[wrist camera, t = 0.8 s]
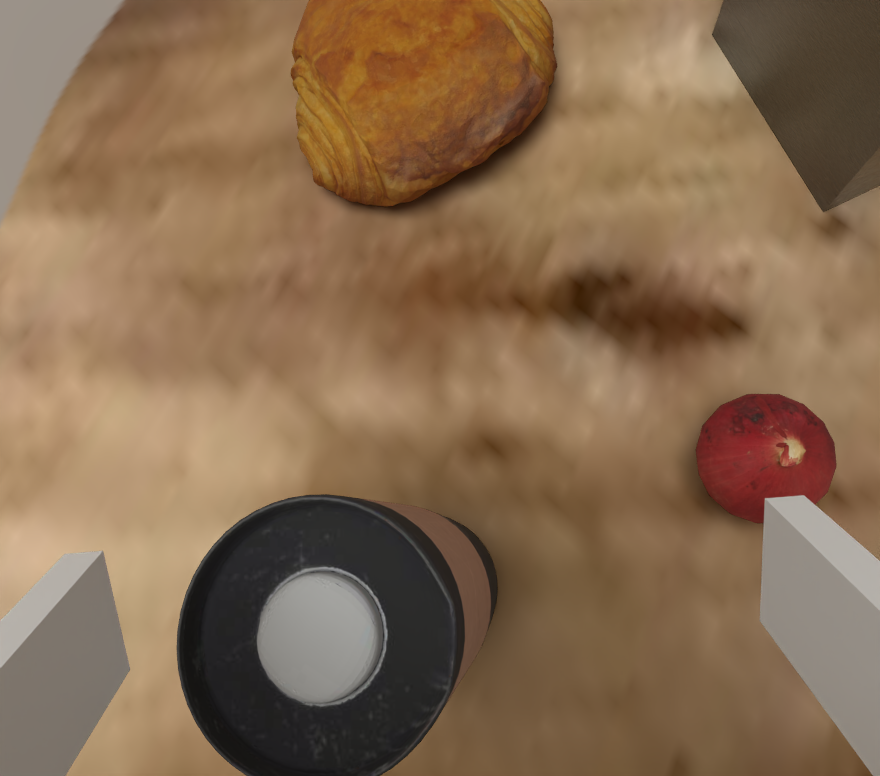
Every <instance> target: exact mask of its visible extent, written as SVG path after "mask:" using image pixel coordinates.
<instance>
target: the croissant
mask: <svg viewBox="0 0 880 776" xmlns="http://www.w3.org/2000/svg"><path fill="white" fill-rule="evenodd" d="M553 33H554V32H553V25H552V19H551V17H550V15H549V13H548V11H547V9H546V7H545V6H544V5H543V3H542V2H541V1H540V0H309V2H308V4H307V7H306V9H305V12H304V15H303V17H302V20H301V23H300V26H299V29H298V31H297V34H296V36H295V39H294V44H293V49H292V54H293V57H294V60H295V64H294V65H293V67H292V69H291V77H292V79H293V86H294V88H295V89H296V91H297V92H298V94H299V98H298V101H297V105H296V119H297V125H298V129H299V131H298V135H297V139H298V141H299V144H300V149H301V151H302V152H303V153H304V155H305V156H306V157H307V159H308V162H309V164H310V166H311V168H312V170H313V179H314V182H315V183H316V184H317V185H319V186H322V187H324V188H326V189H328V190H330V191H333V192H335V193H336V195H338V196H340V197H342V198H344V199H346V200H348V201H351V202H356V201H357V202H359V203H362V204H365V205H370V204H373V205H377V206H385V207H387V206H394V205H396V204H398V203H403V202H411V201H413V200H415V199H416V198H418V197H420V196H421V195H423V194H425V193H426V192H427V191H429V190H430V189H432V188H435V187H438V186H440V185H442V184H444V183H446V182H448V181H449V180H450V179H452V178H453V177H455V176H456V175H457V174H459V173H460V172H463V171H465V170H467V169H469V168H471V167H473V166H477V165H480V164H481V163H483V162H484V161H485V160H487V159H488V158H489V156H490V155H491V154H492V153H494V152H495V151H496V150H497V149H498V148H500V147H502V146H504V145H505V144H507V143H510V141H511V140H512V139H513V138H515V137H516V136H519V135H520V134H521V133H522V132H523V131H524V130H525V129H526V128H527V127H528V125H529V124H530V123H531V122H532V121H533V120H534V119H535V117H536V116H537V115H538V114H539V113H540V112H541V111H542V109H543V107H544V106H545V104H546V103H547V96H548V93H549V86H550V85H551V84H552V82H553V79H554V72H555V70H556V68H557V63H556V59H555V56H554V51H553V46H554V44H553V38H554V37H553Z"/></svg>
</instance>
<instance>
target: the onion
mask: <svg viewBox="0 0 880 776" xmlns="http://www.w3.org/2000/svg"><path fill="white" fill-rule="evenodd" d="M696 456H697V464H698V472H699V476H700V478H701V480H702V482H703V484H704V486H705V488H706V490H707V492H708V493H709V495H710V496H711V497H712V498H713V499H714V500H715V501H716V502H717V503H718V504H720V505H721V506H722V507H723V508H724V509H725V510H726V511H727V512H729V513H730V514H732V515H735V516H738V517H741V518H744V519H746V520H749V521H752V522H755V523H764V505H765V498H776V497H789V496H801V495H804V496H805V497H806V498H808V499H809V500H810V501H811V502H812V503H813V504H816V503H817V502H818V501H819V500H820V499H821V498H822V497H823V496H824V495H825V494H826V493H827V492H828V489H829V487H830V484H831V481H832V478H833V475H834V472H835V469H836V456H835V446H834V441H833V439H832V438H831V436H830V434H829V432H828V430H827V428H826V426H825V424H824V422H823V421H822V420H821V419H819V418H818V417H817V416H816V415H815V414H814V413H813V412H812V411H810V410H809V409H808V408H807V407H806V406H805V405H804V404H802V403H799V402H797V401H794V400H792V399H789V398H787V397H785V396H782V395H780V394H747V395H744V396H742V397H740V398H737V399H735V400H732V401H730V402H728V403H725V404H723V405H721V406H720V407H719V408H718V409H717V410H716V411H715V412H714V413H713V415H712V416H711V417H710V418H709V419H708V420H707V421H706V422H705V423H704V425H703V426H702V429H701V433H700V437H699V440H698V444H697V447H696Z"/></svg>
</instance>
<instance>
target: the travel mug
mask: <svg viewBox="0 0 880 776" xmlns="http://www.w3.org/2000/svg"><path fill="white" fill-rule="evenodd" d="M496 600H497V577H496V571H495V568H494V564H493V561H492V559H491V557H490V554H489V553H488V551H487V549H486V548H485V546H484V545H483V543H482V542H481V541H480V539H479V538H478V537H477V536H476V535H475V534H474V533H473V532H471V531H470V530H469V529H467V528H466V527H465V526H463V525H461V524H460V523H458V522H456V521H454V520H452V519H449V518H447V517H444V516H442V515H439V514H437V513H434V512H432V511H429V510H427V509H423V508H419V507H415V506H410V505H402V504H395V503H388V502H380V501H373V500H366V499H359V498H352V497H344V496H335V495H305V496H299V497H292V498H288V499H284V500H281V501H278V502H275V503H272V504H269V505H267V506H265V507H263V508H261V509H258V510H256V511H254V512H253V513H251V514H250V515H248V516H246V517H245V518H243V519H241V520H240V521H239V522H237V523H236V524H235V525H234V526H233V527H231V528H230V529H229V530H228V531H226V532H225V533H224V534H223V536H222V537H221V538H220V539H219V540H218V541H217V542H216V543H215V544H214V545H213V546H212V548H211V549H210V550H209V552H208V553H207V554H206V556H205V557H204V558H203V560H202V562H201V563H200V565H199V567H198V569H197V570H196V572H195V574H194V576H193V578H192V580H191V583H190V585H189V587H188V590H187V592H186V595H185V598H184V602H183V605H182V609H181V613H180V619H179V625H178V632H177V661H178V670H179V676H180V681H181V686H182V689H183V692H184V696H185V699H186V702H187V705H188V707H189V709H190V711H191V713H192V716H193V718H194V720H195V722H196V724H197V725H198V727H199V728H200V730H201V731H202V733H203V735H204V736H205V738H206V739H207V740H208V741H209V743H210V744H211V745H212V746H213V747H214V749H215V750H216V751H217V752H218V753H219V754H220V755H221V756H222V757H223V758H224V759H225V760H226V761H228V762H229V763H230V764H231V765H232V766H234V767H235V768H236V769H238V770H239V771H241V772H242V773H244V774H245V775H247V776H380V775H382V774H383V773H385V772H387V771H388V770H390V769H392V768H393V767H394V766H395V765H396V764H398V763H399V762H400V761H401V760H403V759H404V758H405V757H406V756H407V755H408V754H409V753H410V752H411V751H412V750H413V749H414V748H415V747H416V746H417V745H418V744H419V743H420V742H421V740H422V739H423V738H424V736H425V735H426V734H427V732H428V731H429V730H430V729H431V727H432V726H433V725H434V723H435V721H436V720H437V718H438V716H439V715H440V713H441V711H442V710H443V708H444V706H445V705H446V703H447V702H448V700H449V698H450V697H451V695H452V694H453V692H454V690H455V689H456V687H457V686H458V684H459V683H460V681H461V679H462V678H463V676H464V675H465V673H466V672H467V670H468V668H469V667H470V665H471V664H472V662H473V661H474V659H475V657H476V656H477V654H478V652H479V650H480V648H481V646H482V644H483V642H484V639H485V636H486V634H487V631H488V628H489V625H490V622H491V619H492V616H493V613H494V609H495V605H496Z"/></svg>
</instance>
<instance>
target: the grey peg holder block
mask: <svg viewBox="0 0 880 776" xmlns="http://www.w3.org/2000/svg"><path fill="white" fill-rule="evenodd" d="M712 35H713V37H714V38H715V40H716V41H717V43H718V45H719V46H720V48H721V49H722V51H723V53H724V54H725V56H726V57H727V59H728V61H729V62H730V64H731V65H732V67H733V69H734V70H735V72H736V73H737V75H738V77H739V78H740V80H741V81H742V83H743V85H744V86H745V88H746V89H747V91H748V93H749V94H750V96H751V97H752V99H753V100H754V102H755V104H756V105H757V107H758V108H759V110H760V112H761V113H762V115H763V116H764V118H765V120H766V121H767V123H768V124H769V126H770V128H771V129H772V131H773V132H774V134H775V136H776V137H777V139H778V140H779V142H780V144H781V145H782V147H783V148H784V150H785V152H786V153H787V155H788V156H789V158H790V159H791V161H792V163H793V164H794V166H795V167H796V169H797V171H798V172H799V174H800V175H801V177H802V179H803V180H804V182H805V183H806V185H807V187H808V188H809V190H810V191H811V193H812V195H813V196H814V198H815V199H816V201H817V203H818V204H819V206H820V207H821V209H822V211H823V212H824V211H827V210H829V209H831V208H833V207H835V206H837V205H839V204H841V203H844V202H846V201H848V200H850V199H852V198H854V197H856V196H858V195H861V194H863V193H865V192H867V191H869V190H871V189H873V188H875V187H878V186H880V0H724V1H723V4H722V7H721V10H720V13H719V16H718V19H717V22H716V25H715V28H714V31H713V34H712Z"/></svg>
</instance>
